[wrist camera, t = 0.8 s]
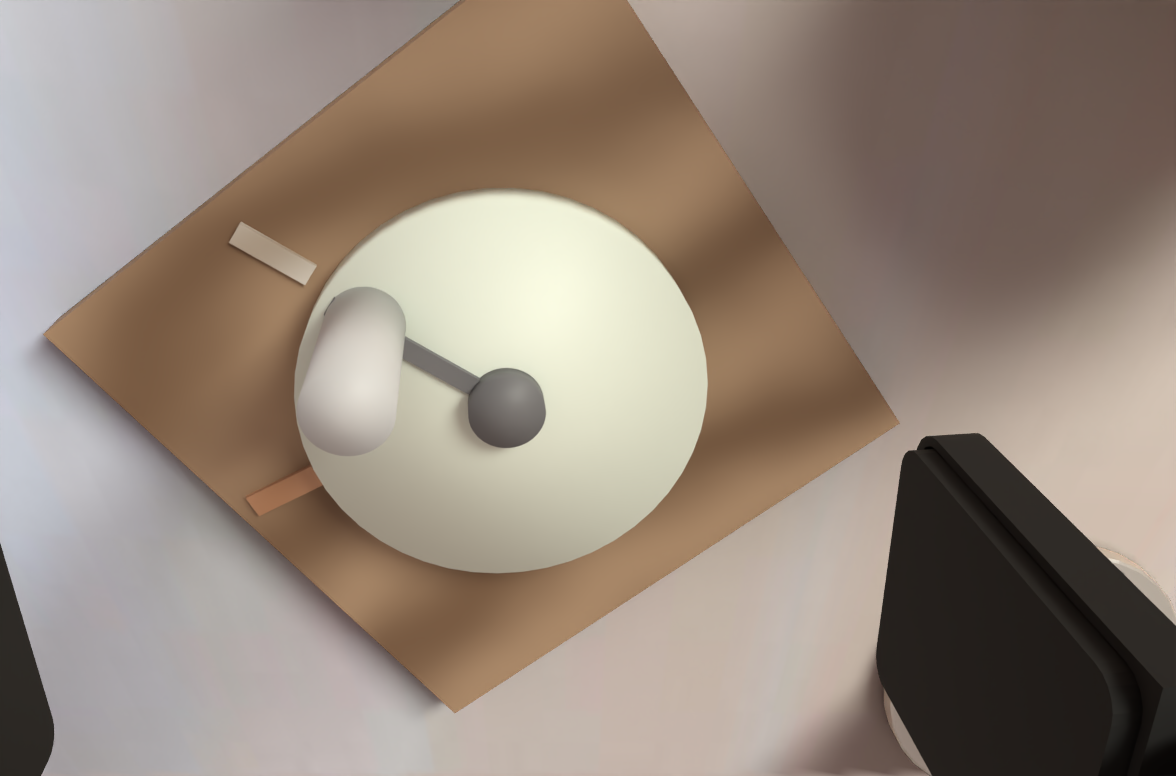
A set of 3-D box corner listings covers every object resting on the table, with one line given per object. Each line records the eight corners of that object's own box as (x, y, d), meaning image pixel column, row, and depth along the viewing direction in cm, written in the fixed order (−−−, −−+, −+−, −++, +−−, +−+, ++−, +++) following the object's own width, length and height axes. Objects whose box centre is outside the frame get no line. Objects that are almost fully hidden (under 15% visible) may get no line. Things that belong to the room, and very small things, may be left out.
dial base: (883, 404, 37) (901, 425, 36) (454, 686, 40) (454, 717, 39) (567, -85, 29) (573, -84, 28) (60, 316, 32) (40, 337, 31)
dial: (774, 323, 34) (855, 427, 27) (557, 602, 37) (580, 754, 31) (435, 102, 29) (430, 159, 23) (228, 442, 33) (171, 578, 26)
